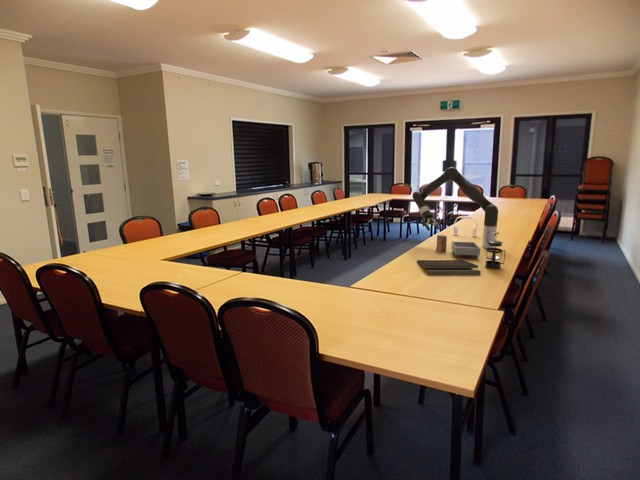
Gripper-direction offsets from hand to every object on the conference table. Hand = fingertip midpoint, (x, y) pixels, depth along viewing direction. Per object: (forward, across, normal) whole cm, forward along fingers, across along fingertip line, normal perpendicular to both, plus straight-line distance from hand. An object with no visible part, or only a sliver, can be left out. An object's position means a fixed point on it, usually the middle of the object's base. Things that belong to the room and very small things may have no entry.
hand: (433, 229), depth 314 cm
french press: (+53, +4, -32) cm, 62 cm away
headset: (-11, +56, +32) cm, 65 cm away
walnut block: (+18, 0, +3) cm, 18 cm away
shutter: (+46, -25, -24) cm, 58 cm away
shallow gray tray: (+30, +7, -10) cm, 33 cm away
